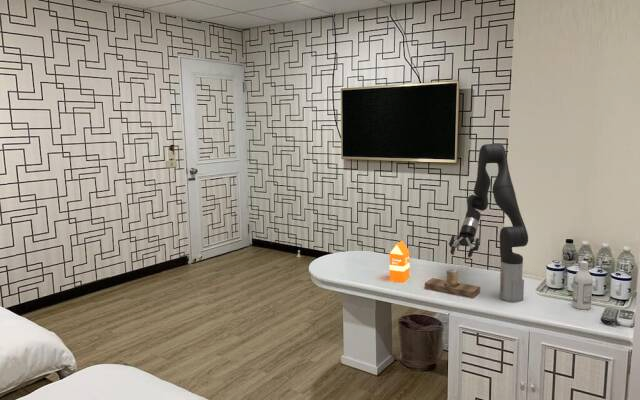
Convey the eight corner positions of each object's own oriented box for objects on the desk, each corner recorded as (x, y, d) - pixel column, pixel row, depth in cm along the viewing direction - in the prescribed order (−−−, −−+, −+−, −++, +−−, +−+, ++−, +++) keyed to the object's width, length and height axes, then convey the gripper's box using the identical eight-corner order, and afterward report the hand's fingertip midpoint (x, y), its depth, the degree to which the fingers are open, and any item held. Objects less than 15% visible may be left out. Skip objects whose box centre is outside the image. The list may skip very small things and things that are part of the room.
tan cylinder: (457, 290, 226) (457, 270, 225) (454, 292, 223) (454, 272, 222) (449, 288, 229) (449, 268, 227) (446, 291, 226) (446, 271, 224)
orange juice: (409, 278, 247) (409, 240, 244) (403, 283, 239) (403, 244, 236) (395, 276, 251) (395, 239, 248) (389, 280, 243) (389, 243, 240)
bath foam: (592, 306, 202) (595, 261, 199) (588, 311, 197) (591, 265, 194) (575, 302, 207) (577, 258, 204) (570, 307, 202) (572, 262, 199)
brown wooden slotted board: (480, 292, 222) (480, 286, 222) (473, 298, 215) (473, 292, 215) (432, 283, 237) (432, 278, 236) (424, 288, 230) (424, 282, 229)
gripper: (453, 222, 241) (444, 249, 234) (481, 225, 232) (472, 253, 225) (457, 231, 246) (448, 257, 239) (484, 234, 237) (476, 261, 230)
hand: (460, 255), depth 232 cm, fingers open, 8 cm apart
